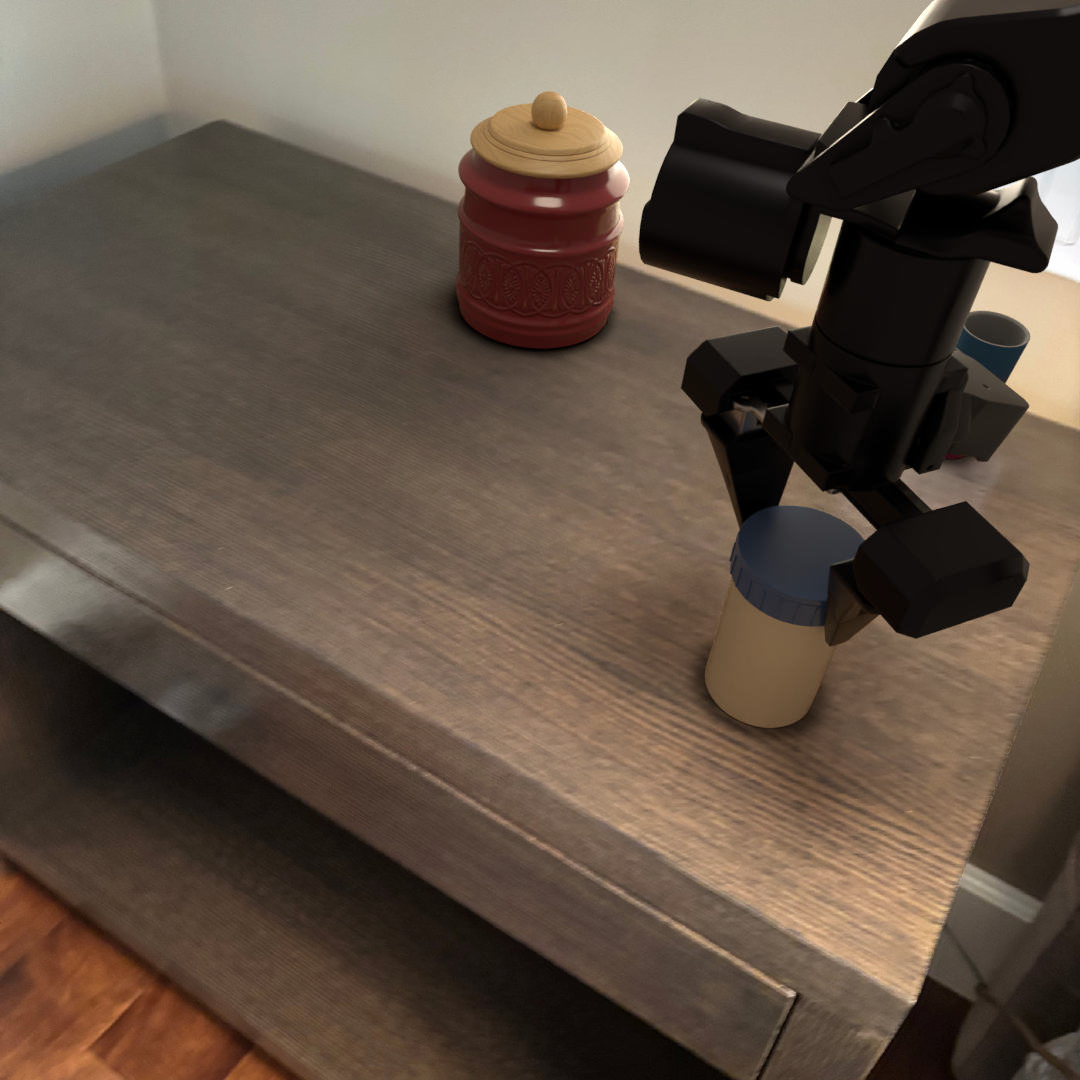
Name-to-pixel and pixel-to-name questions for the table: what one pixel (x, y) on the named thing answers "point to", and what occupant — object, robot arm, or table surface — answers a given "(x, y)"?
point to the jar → (764, 665)
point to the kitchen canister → (540, 224)
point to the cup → (993, 343)
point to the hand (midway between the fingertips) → (792, 589)
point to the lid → (790, 561)
